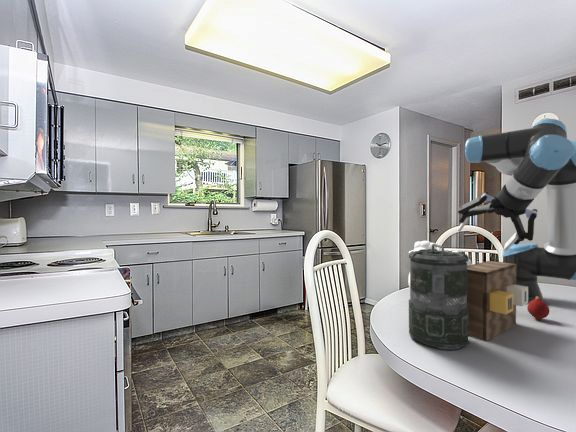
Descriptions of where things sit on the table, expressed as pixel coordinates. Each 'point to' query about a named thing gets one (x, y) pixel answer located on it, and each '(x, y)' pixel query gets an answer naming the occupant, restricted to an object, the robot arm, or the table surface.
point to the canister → (438, 298)
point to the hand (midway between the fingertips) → (482, 238)
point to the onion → (538, 308)
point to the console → (488, 298)
